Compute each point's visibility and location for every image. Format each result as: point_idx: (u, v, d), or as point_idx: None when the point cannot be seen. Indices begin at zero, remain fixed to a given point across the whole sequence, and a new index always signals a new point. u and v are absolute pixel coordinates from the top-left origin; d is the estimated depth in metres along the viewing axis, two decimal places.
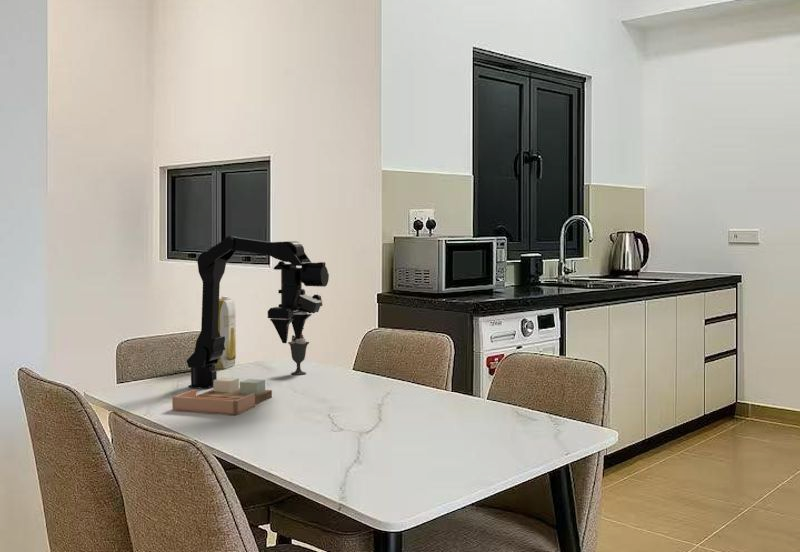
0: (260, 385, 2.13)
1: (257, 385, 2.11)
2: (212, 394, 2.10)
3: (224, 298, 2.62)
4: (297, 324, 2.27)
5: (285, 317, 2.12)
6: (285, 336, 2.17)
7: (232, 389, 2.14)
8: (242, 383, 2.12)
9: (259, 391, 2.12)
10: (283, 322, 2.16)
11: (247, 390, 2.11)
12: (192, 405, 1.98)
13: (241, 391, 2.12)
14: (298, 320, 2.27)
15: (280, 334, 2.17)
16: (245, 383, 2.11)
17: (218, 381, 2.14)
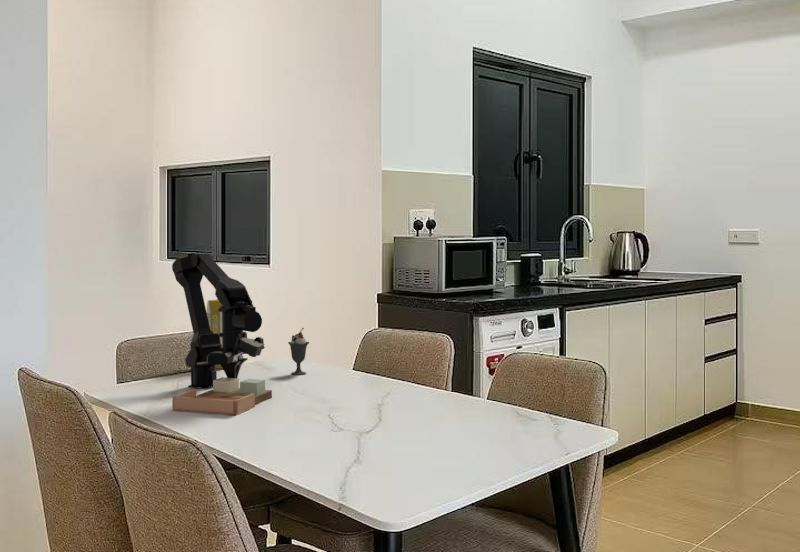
0: (260, 385, 2.13)
1: (257, 385, 2.11)
2: (212, 394, 2.10)
3: None
4: None
5: (224, 362, 2.09)
6: None
7: (232, 389, 2.14)
8: (242, 383, 2.12)
9: (259, 391, 2.12)
10: (231, 364, 2.18)
11: (247, 390, 2.11)
12: (192, 405, 1.98)
13: (241, 391, 2.12)
14: None
15: (228, 376, 2.18)
16: (245, 383, 2.11)
17: (217, 381, 2.14)
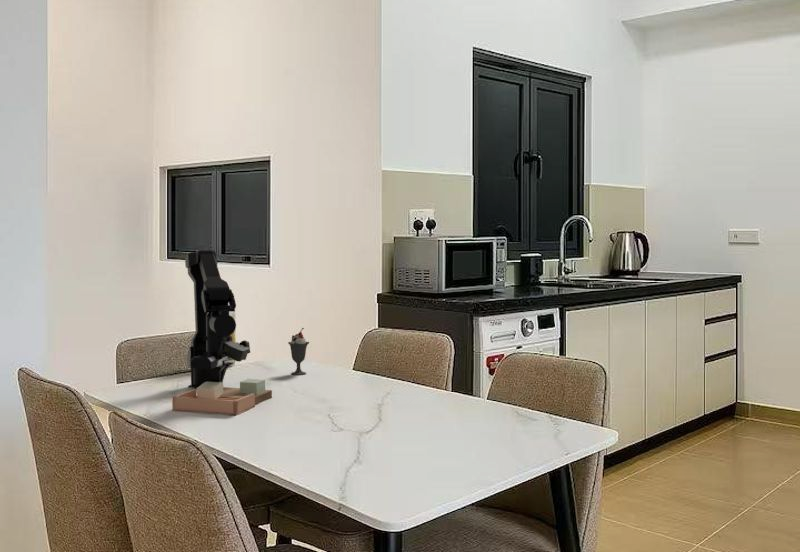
0: (260, 385, 2.13)
1: (257, 385, 2.11)
2: None
3: None
4: None
5: (207, 367, 2.01)
6: None
7: (217, 396, 2.06)
8: (242, 383, 2.12)
9: (259, 391, 2.12)
10: (215, 369, 2.10)
11: (247, 390, 2.11)
12: (192, 405, 1.98)
13: (241, 391, 2.12)
14: None
15: (213, 381, 2.10)
16: (245, 383, 2.11)
17: (201, 389, 2.05)
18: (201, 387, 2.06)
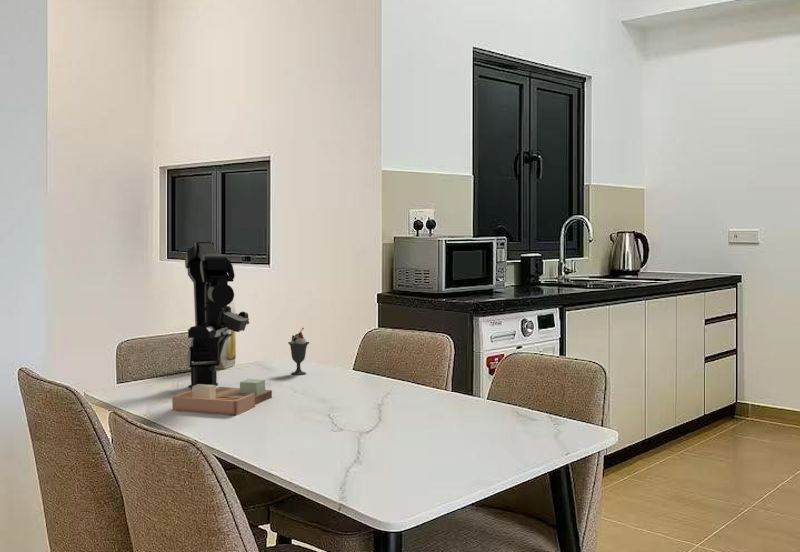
0: (260, 385, 2.13)
1: (257, 385, 2.11)
2: None
3: None
4: None
5: (206, 337, 2.00)
6: (216, 354, 2.09)
7: None
8: (242, 383, 2.12)
9: (259, 391, 2.12)
10: (214, 339, 2.09)
11: (247, 390, 2.11)
12: (192, 405, 1.98)
13: (241, 391, 2.12)
14: None
15: (211, 352, 2.09)
16: (245, 383, 2.11)
17: None
18: None
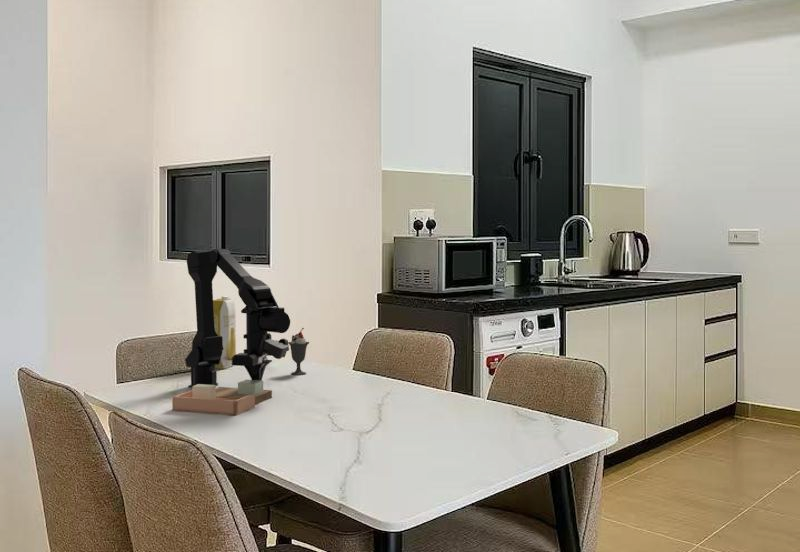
0: (258, 385, 2.12)
1: (255, 385, 2.10)
2: None
3: (224, 298, 2.62)
4: None
5: (249, 364, 2.06)
6: None
7: None
8: (240, 384, 2.10)
9: (257, 392, 2.11)
10: (255, 366, 2.14)
11: (245, 390, 2.10)
12: (192, 405, 1.98)
13: (239, 392, 2.11)
14: None
15: (253, 378, 2.15)
16: (243, 384, 2.10)
17: None
18: None
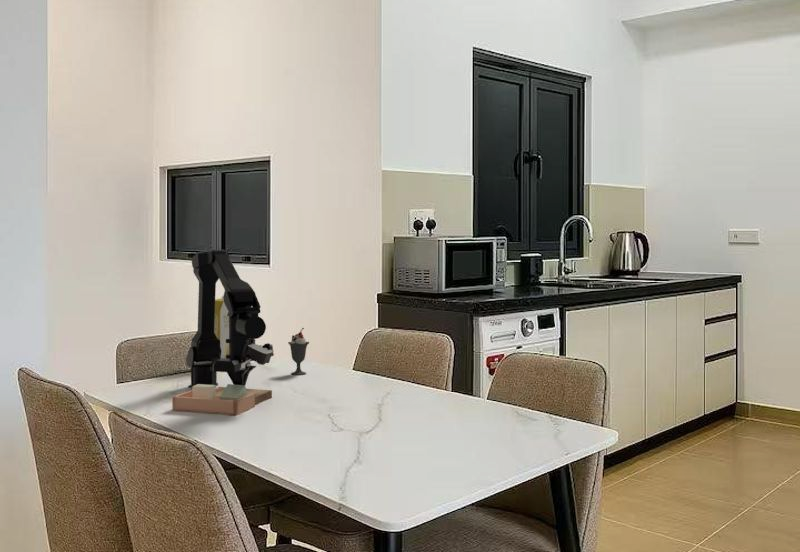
0: (241, 394, 2.03)
1: None
2: None
3: None
4: None
5: (231, 370, 1.97)
6: None
7: None
8: (222, 397, 2.02)
9: None
10: (238, 372, 2.05)
11: None
12: (192, 405, 1.98)
13: None
14: None
15: (236, 384, 2.06)
16: (225, 398, 2.01)
17: None
18: None
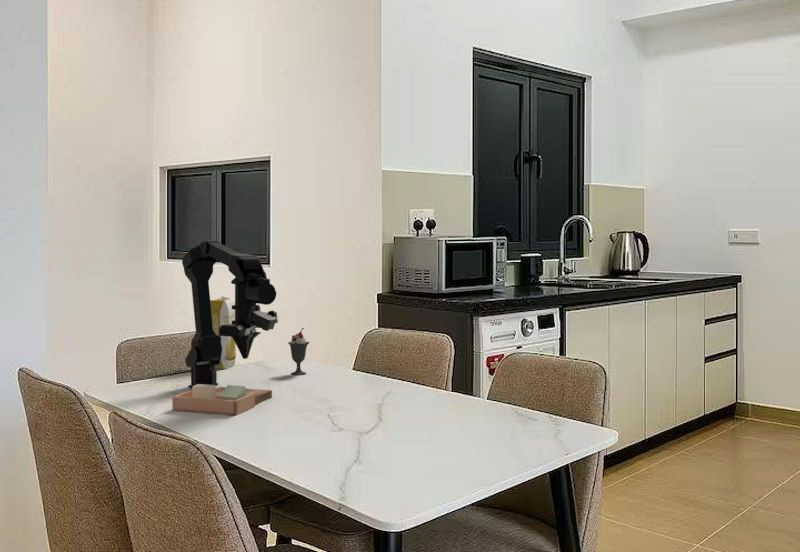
0: (241, 395, 2.03)
1: None
2: None
3: (224, 298, 2.62)
4: None
5: (236, 335, 2.04)
6: (245, 352, 2.13)
7: None
8: (222, 397, 2.01)
9: None
10: (243, 337, 2.13)
11: None
12: (192, 405, 1.98)
13: None
14: None
15: (241, 349, 2.13)
16: (225, 397, 2.01)
17: None
18: None
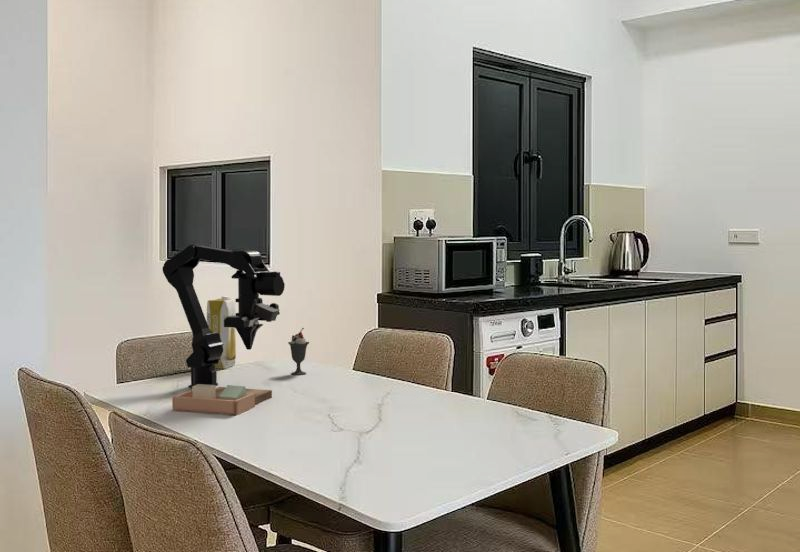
0: (241, 395, 2.03)
1: None
2: None
3: (224, 298, 2.62)
4: None
5: (240, 326, 2.14)
6: (249, 343, 2.23)
7: None
8: (222, 397, 2.01)
9: None
10: (247, 329, 2.22)
11: None
12: (192, 405, 1.98)
13: None
14: None
15: (244, 341, 2.23)
16: (225, 397, 2.01)
17: None
18: None
